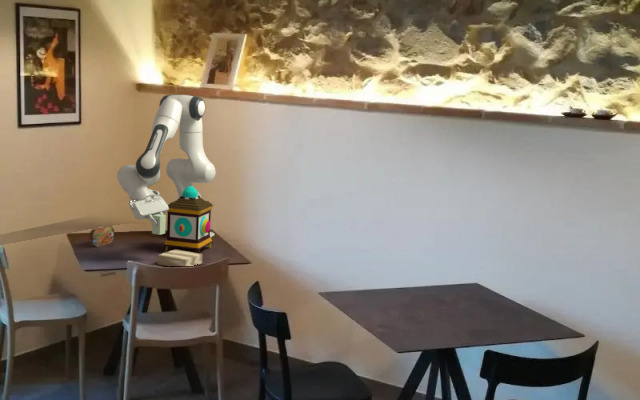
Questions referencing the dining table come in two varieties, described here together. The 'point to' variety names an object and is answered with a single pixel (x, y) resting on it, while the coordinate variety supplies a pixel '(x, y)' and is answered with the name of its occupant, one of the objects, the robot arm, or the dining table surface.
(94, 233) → the tin
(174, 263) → the plinth
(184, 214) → the decorative lantern
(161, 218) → the green block
